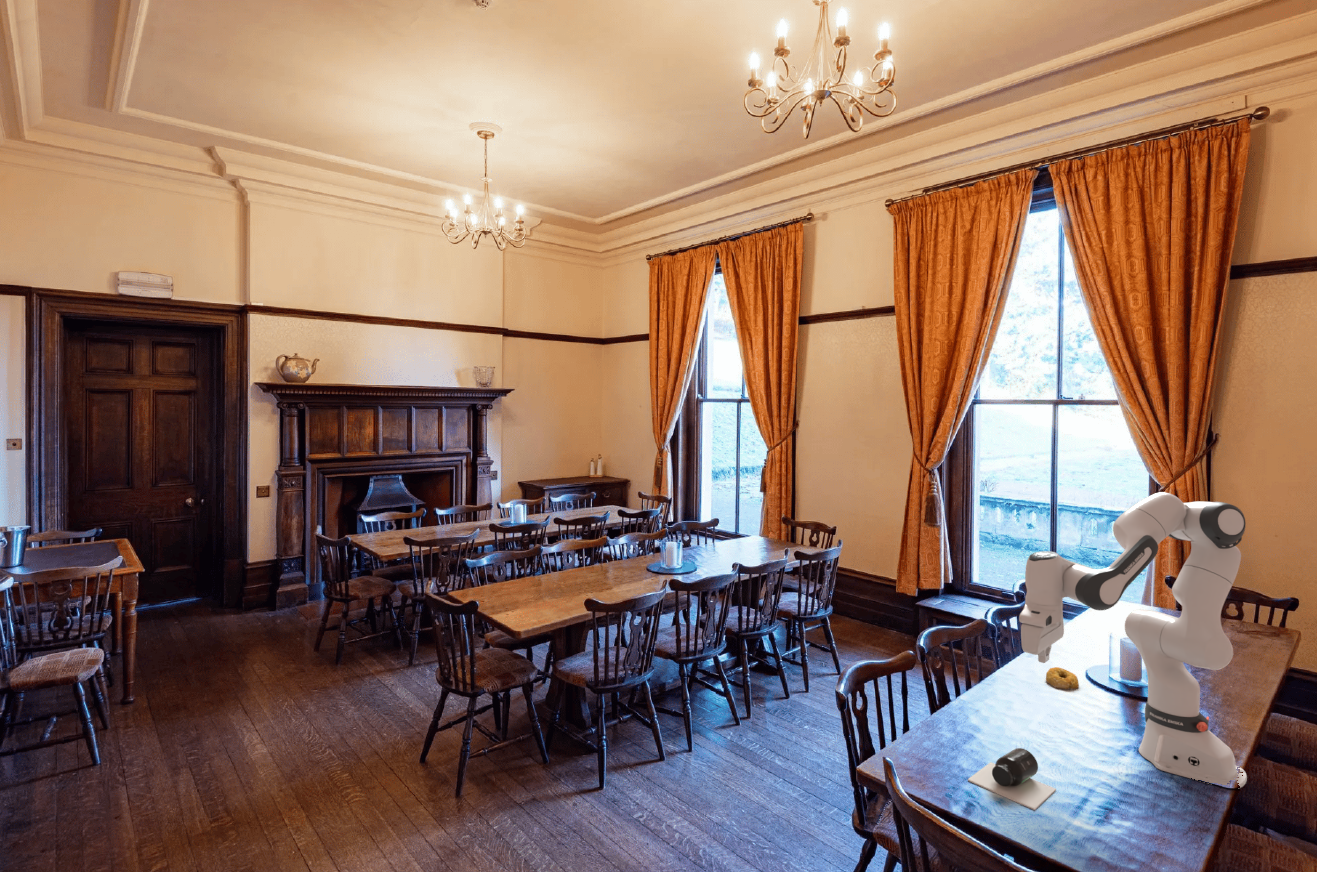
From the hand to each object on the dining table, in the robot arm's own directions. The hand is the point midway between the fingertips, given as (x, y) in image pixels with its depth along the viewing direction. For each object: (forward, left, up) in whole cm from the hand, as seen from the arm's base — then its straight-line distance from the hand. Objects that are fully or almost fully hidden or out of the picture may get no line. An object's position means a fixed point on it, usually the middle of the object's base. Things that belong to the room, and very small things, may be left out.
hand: (1043, 661), depth 180 cm
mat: (-1, +22, -26) cm, 34 cm away
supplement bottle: (-1, +14, -23) cm, 27 cm away
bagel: (+15, -57, -27) cm, 64 cm away
